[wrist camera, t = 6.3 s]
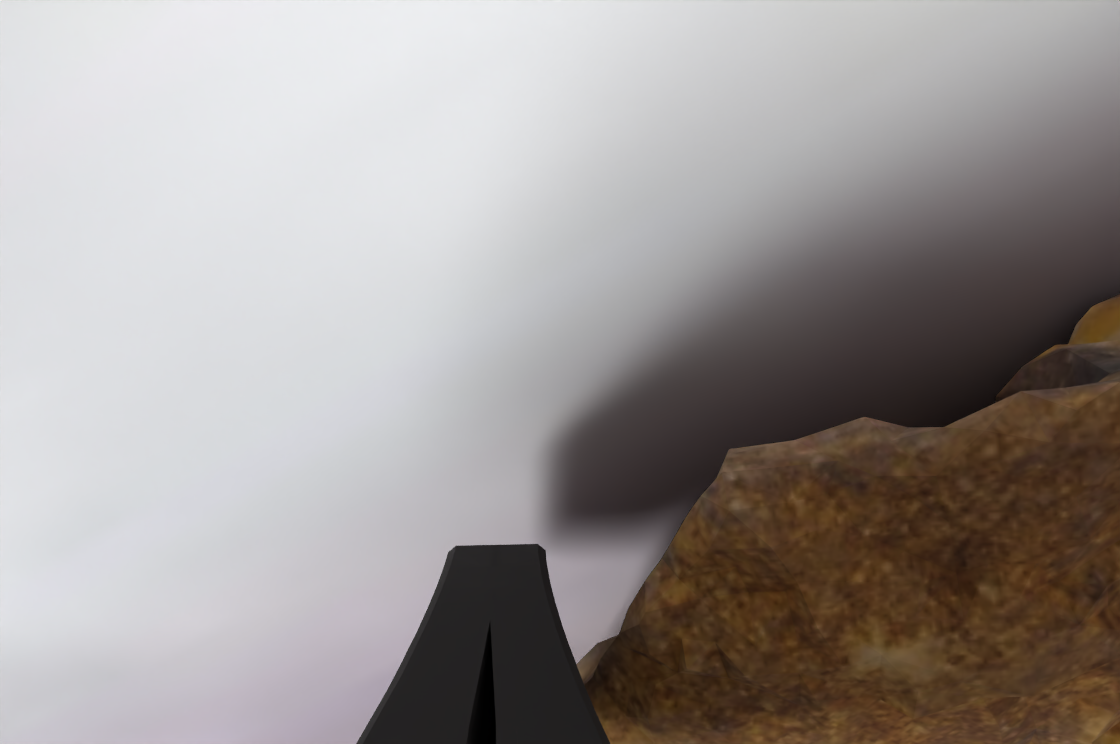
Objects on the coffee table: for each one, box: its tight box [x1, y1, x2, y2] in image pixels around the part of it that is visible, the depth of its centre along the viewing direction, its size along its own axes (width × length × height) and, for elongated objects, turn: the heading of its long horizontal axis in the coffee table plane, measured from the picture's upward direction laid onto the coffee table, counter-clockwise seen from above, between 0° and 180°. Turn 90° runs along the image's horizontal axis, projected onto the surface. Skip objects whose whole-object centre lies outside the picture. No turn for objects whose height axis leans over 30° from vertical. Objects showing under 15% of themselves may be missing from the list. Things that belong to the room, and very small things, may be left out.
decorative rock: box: [576, 294, 1120, 744], centre depth 12 cm, size 11×4×15 cm
